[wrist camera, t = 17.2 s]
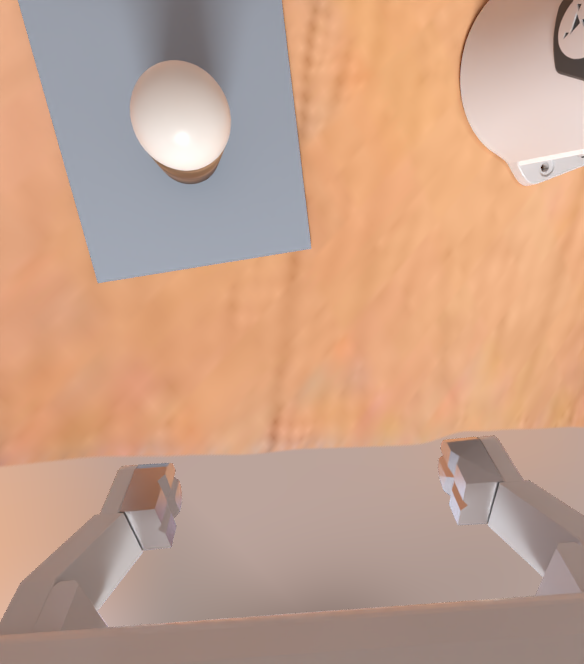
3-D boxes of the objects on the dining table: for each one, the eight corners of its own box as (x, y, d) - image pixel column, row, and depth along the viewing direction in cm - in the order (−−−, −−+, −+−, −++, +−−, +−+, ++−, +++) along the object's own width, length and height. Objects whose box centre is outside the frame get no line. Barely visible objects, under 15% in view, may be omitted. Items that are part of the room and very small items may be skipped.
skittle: (213, 111, 31) (224, 39, 18) (225, 180, 33) (242, 159, 20) (147, 117, 30) (108, 47, 17) (162, 188, 32) (136, 171, 19)
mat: (273, -54, 30) (274, -60, 29) (309, 248, 36) (311, 248, 36) (8, -44, 27) (3, -50, 26) (99, 281, 34) (97, 283, 33)
